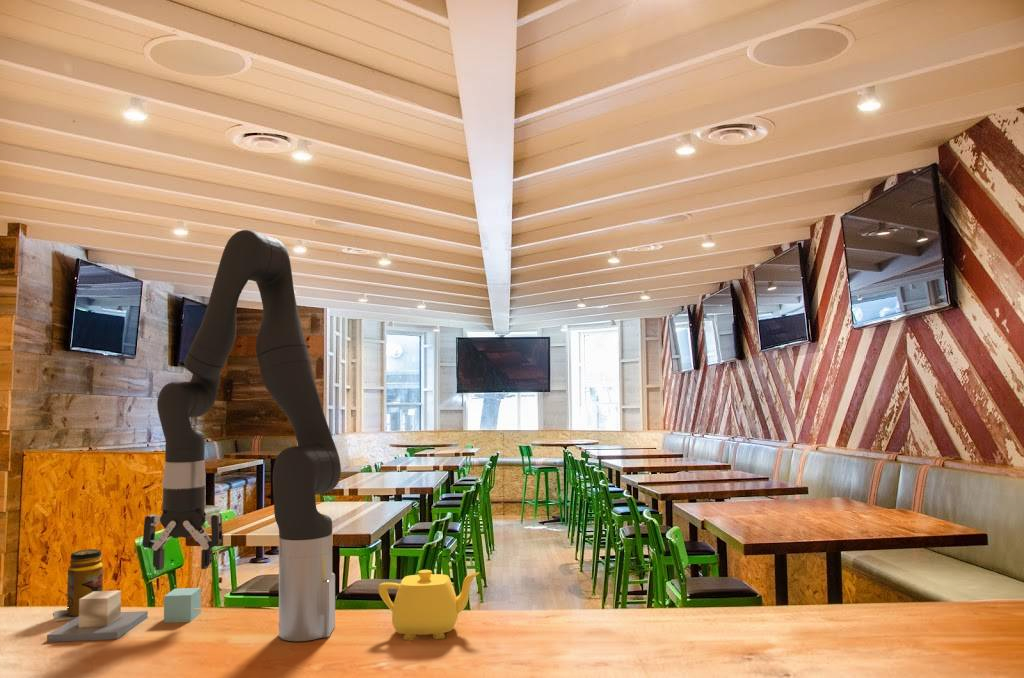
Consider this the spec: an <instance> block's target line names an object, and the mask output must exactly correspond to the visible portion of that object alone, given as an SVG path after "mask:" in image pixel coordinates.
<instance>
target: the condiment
mask: <svg viewBox="0 0 1024 678" xmlns="http://www.w3.org/2000/svg"><path fill="white" fill-rule="evenodd" d="M101 560H102V551H101V550H100V549H96V548H95V549H93V548H91V549H90V548H89V549H83V550H82V549H81V550H77V551H73V552H72V553H71V554H70V561H69V563H70V566H69V567H68V569H67V594H66V595H67V598H66V599H67V601H66V609H60V610H54V611H53V619H54V623H56V622H59V621H66V620H73V619H75V618H77V617H78V616H79V599H81V598H82V597H84V596H86V595H88V594H90V593H92V592H93V591H104V589H103V587H104V586H103V585H104V582H103V581H104V580H103V579H104V576H103V575H104V574H103V573H104V565H103V562H101ZM67 607H69V608H67Z"/></svg>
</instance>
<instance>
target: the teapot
mask: <svg viewBox="0 0 1024 678" xmlns="http://www.w3.org/2000/svg"><path fill="white" fill-rule="evenodd" d="M417 573H418V574H412V575H406V576H404V577H403V578H402V580H401V581H400V583H397V582H382V583H380V584H378V588H377V589H378V594H379V596H380V598H381V599H382V601H383V602H384V603H385V605H386V606H387V607H388V608H389V610H390V611H391V612H392V615H391V616H392V617H391V621H392V622H391V623H392V625H393V629H394V630H395V631H396V633H398V634H403V635H404V636H403V640H404V641H412V640H415V639H416V638H417V636H418V635H419V636H420V635H421V636H422V635H425V636H426V635H432V638H433V639H434V640H442V639H445V638H446V634H445V633H449V632H451V631H452V630H453V629H454V627H455V625H456V622H457V621H458V617H459V614H460V613H461V612H463V610H464V609H465V608H466V606H467V605H468V602H469V596H470V590H471V589H470V588H471V584H472V582H473V580H474V578H476V577H477V576H478V575H479V574H480V572H479V571H478V572H474V573H469V574H468V575H466V577H465V578H463V582H462V587H461V591H460V593H459V594H458V595H457V594H456V591H455V588H454V586H453V583H452V580H451V579H450V577H449V575H448V574H442V573H441V574H440V573H439V574H437V573H436V574H435V573H434V574H433V571H432V570H430V569H420V570H418V572H417ZM388 589H397V592H396V594H395V598H394V602H393V601H392V600H391V598H390V595H389V592H388V591H389V590H388Z"/></svg>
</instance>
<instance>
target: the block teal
mask: <svg viewBox="0 0 1024 678" xmlns="http://www.w3.org/2000/svg"><path fill="white" fill-rule="evenodd" d="M194 608H201V609H194ZM201 614H202V588H201V587H188V588H186V587H183V588H173V589H172V590H171V591H169V592H168V593H167V594H165V595H163V623H164V624H165V623H166V622H167V623H186V622H189V623H190V622H192V621H194V620H195V619H196V618H198V617H199V616H200V615H201Z"/></svg>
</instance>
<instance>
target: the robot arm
mask: <svg viewBox="0 0 1024 678" xmlns="http://www.w3.org/2000/svg"><path fill="white" fill-rule="evenodd" d="M218 264H219V265H218V268H217V270H216V271H217V272H216V275H215V278H214V281H213V285H212V289H211V293H210V295H209V296H210V297H209V300H208V303H207V307H206V309H205V313H204V316H203V319H202V321H201V324H200V326H199V328H198V330H197V332H196V334H195V337H194V339H193V341H192V343H191V345H190V348H189V349H188V351H187V353H186V356H185V358H184V362H183V364H184V367H185V369H186V370H187V371H188V372H190V373H191V374H192V376H191V379H190V380H189V381H172V382H168V383H167V384H165V385H164V386H163V387H162V388H161V390H160V392H159V393H158V396H157V401H156V406H157V407H156V408H157V413H158V417H159V421H160V425H161V430H162V433H163V436H164V440H165V449H164V450H165V451H164V453H165V454H164V455H165V456H164V458H165V459H164V468H163V475H162V505H161V507H162V508H161V509H162V514H161V515H157V514H156V513H152V514H149V515H147V516H145V517H144V523H143V524H144V525H143V537H142V547H143V548H149V549H151V550H152V552H153V553H152V566H153V568H155V570H156V571H161V570H163V569H164V567H165V550H166V548H164V546H165V545H166V543H167V542H168V541H169V540H170V539H171V538H173V539H178V538H184V539H190V538H193V539H194V541H195V542H197V543H198V544H199V545H200V546H201V548H202V549H201V559H200V560H201V565H200V569H201V570H207V569H208V568H209V567H210V566H211V564H212V563H213V548H215V547H217V546H219V545H220V544H222V543H223V540H224V537H223V517H222V513H220V512H217V513H215V514H206V512H205V511H206V510H205V509H206V508H205V507H206V505H205V504H206V464H205V463H206V462H205V448H206V447H205V444H206V443H205V442H206V441H205V435H204V432H202V431H200V430H197V429H194V428H193V426H192V422H191V421H190V418H197V417H198V418H199V417H203V416H205V415H206V414H207V413H208V412H209V411H210V410H211V409H212V408H213V406H214V405H215V403H216V399H217V395H218V390H219V387H220V386H219V385H220V380H221V373H222V370H223V368H224V366H225V365H226V362H227V361H228V358H229V356H230V354H231V352H232V351H233V348H234V345H235V342H236V338H237V309H238V308H237V307H238V304H239V303H238V302H239V299H240V296H241V294H242V291H243V290H244V288H245V286H246V285H247V283H248V281H252V282H255V284H256V285H257V288H258V291H259V295H260V299H261V303H262V304H261V305H262V320H261V323H260V327H259V329H258V333H257V335H256V336H257V337H256V341H255V342H256V343H255V354H256V360H257V364H258V367H259V373H260V378H261V380H262V382H263V385H264V387H265V389H266V390H267V391H268V394H269V396H271V398H272V399H273V400H274V402H275V403H276V404H277V405H278V406H279V408H280V409H281V410H282V411H283V413H284V414H285V416H286V417H287V418H288V420H289V422H290V423H291V426H292V429H293V431H294V435H295V437H296V442H297V445H295V446H290V447H286V448H285V449H283V450H282V451H280V452H279V453H278V455H277V457H276V459H275V462H274V463H273V464H274V465H273V469H272V470H273V471H272V492H273V493H272V494H273V508H274V509H273V512H274V513H273V514H274V519H275V522H276V525H277V528H278V554H279V555H278V637H279V638H280V639H281V640H284V641H289V642H307V641H312V640H313V641H314V640H317V639H323V638H329V637H330V636H331V634H332V632H333V631H334V628H336V574H335V573H334V572H333V520H332V518H331V517H330V516H328V515H327V514H324V513H320V511H318V508H317V502H316V496H317V495H321V494H326V493H328V492H332V491H333V490H334V489H335V488H336V487H337V486H338V484H339V481H340V478H341V473H342V466H341V460H340V456H339V453H338V449H337V447H336V443H335V441H334V439H333V435H332V433H331V430H330V428H329V424H328V421H327V419H326V416H325V413H324V410H323V406H322V402H321V398H320V395H319V391H318V388H317V384H316V381H315V376H314V372H313V367H312V363H311V362H312V361H311V357H310V354H309V353H310V352H309V350H308V345H307V342H306V338H305V336H304V331H303V326H302V322H301V317H300V315H299V310H298V305H297V301H296V295H295V287H294V279H293V272H292V265H291V259H290V255H289V252H288V249H287V247H286V246H285V245H284V243H283V242H282V241H280V240H279V239H277V238H275V237H272V236H269V235H267V234H263V233H259V232H258V231H255V230H249V229H243V230H239V231H236V232H235V233H233V235H231V237H229V238H228V240H227V242H226V244H225V247H224V248H223V252H222V255H221V258H220V261H219V263H218ZM206 522H207V524H208V526H210V529H211V530H210V531H211V538H210V536H209V535H208V532H207V531H206V529H205V528H204V527H203V526H204V524H205V523H206ZM159 524H161V525H162V527H163V528H164V530H163V531H162V532H161V533H160V535H159V536H158V538H157V540H155V537H156V527H157V526H158V525H159Z"/></svg>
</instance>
